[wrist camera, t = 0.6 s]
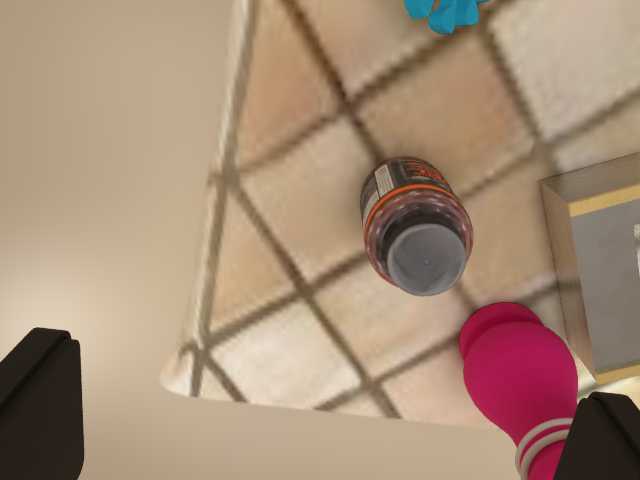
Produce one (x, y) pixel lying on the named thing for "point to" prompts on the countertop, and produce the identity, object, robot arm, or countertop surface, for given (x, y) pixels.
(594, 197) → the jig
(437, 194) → the supplement bottle
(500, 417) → the pepper mill
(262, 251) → the countertop surface
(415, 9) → the cyan jagged piece
